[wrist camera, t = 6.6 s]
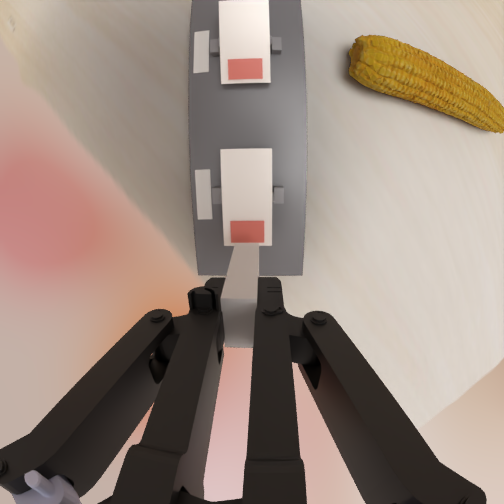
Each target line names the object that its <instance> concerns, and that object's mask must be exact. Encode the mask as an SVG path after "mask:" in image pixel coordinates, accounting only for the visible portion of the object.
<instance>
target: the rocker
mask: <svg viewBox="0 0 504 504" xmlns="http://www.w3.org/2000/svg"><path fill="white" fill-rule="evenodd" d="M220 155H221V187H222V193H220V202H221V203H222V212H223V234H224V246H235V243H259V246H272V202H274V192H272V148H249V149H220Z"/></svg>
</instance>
